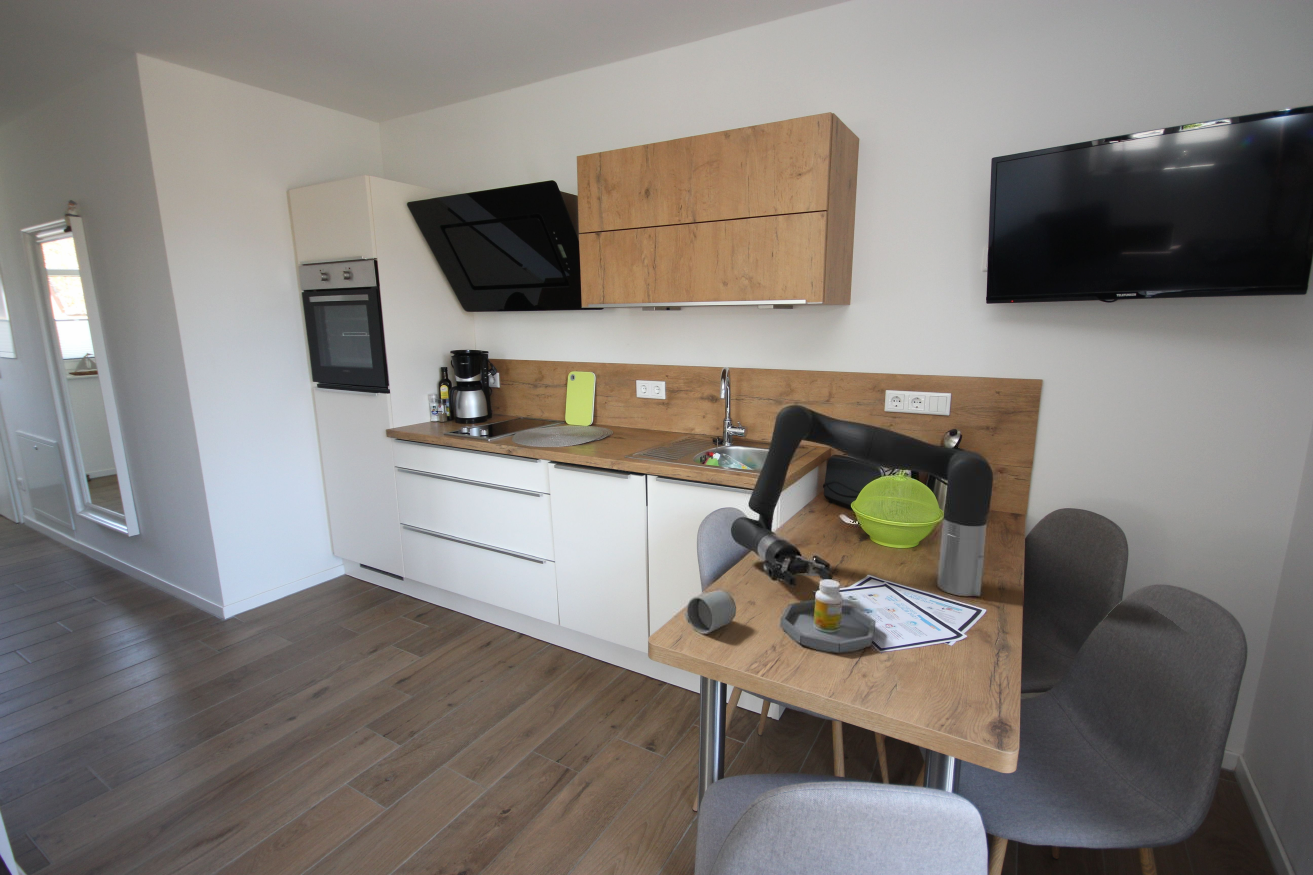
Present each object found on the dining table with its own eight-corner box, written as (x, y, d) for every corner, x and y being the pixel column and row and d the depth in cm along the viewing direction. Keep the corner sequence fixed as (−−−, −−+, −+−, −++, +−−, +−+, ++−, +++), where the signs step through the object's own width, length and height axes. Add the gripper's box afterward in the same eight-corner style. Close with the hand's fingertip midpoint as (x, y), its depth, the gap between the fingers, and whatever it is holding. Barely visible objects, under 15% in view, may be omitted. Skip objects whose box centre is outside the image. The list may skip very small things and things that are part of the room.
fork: (897, 537, 185) (897, 531, 185) (837, 521, 199) (838, 515, 199) (901, 535, 187) (902, 529, 187) (843, 519, 201) (843, 513, 201)
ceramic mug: (738, 626, 127) (739, 591, 126) (712, 639, 122) (713, 603, 120) (701, 610, 135) (701, 577, 134) (675, 622, 129) (675, 588, 128)
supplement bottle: (809, 621, 128) (812, 578, 127) (834, 620, 129) (836, 577, 127) (819, 633, 123) (822, 588, 121) (844, 632, 123) (847, 587, 122)
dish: (877, 620, 130) (878, 610, 130) (868, 661, 114) (868, 649, 114) (793, 604, 137) (794, 594, 137) (773, 640, 121) (774, 629, 121)
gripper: (751, 541, 144) (783, 567, 128) (806, 536, 147) (842, 561, 132) (750, 571, 145) (781, 600, 130) (804, 565, 149) (840, 593, 133)
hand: (812, 580), depth 131 cm, fingers open, 8 cm apart
